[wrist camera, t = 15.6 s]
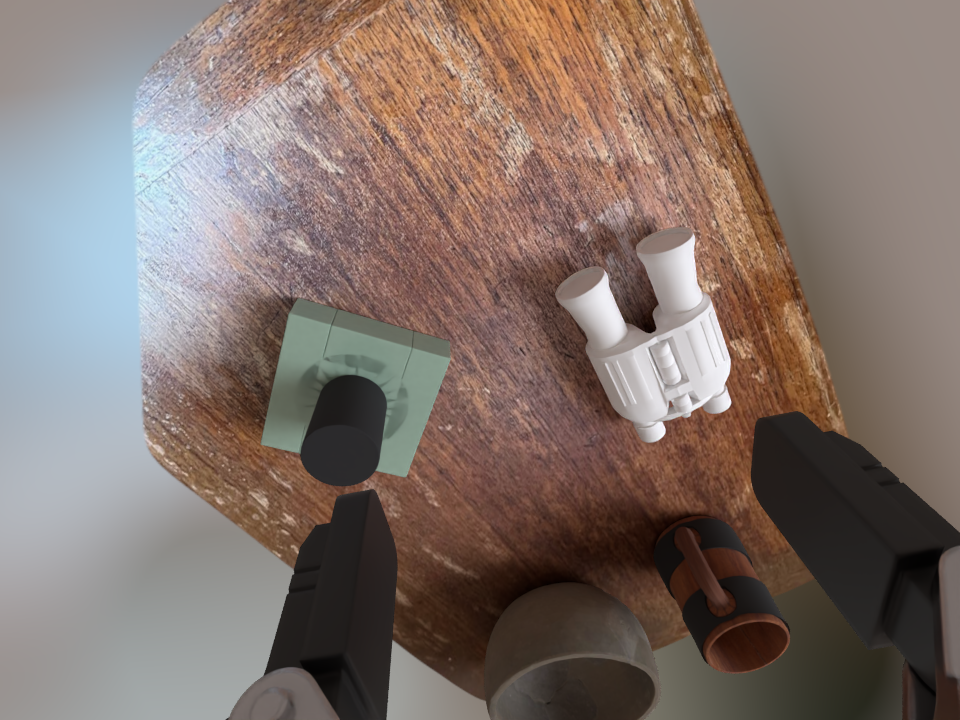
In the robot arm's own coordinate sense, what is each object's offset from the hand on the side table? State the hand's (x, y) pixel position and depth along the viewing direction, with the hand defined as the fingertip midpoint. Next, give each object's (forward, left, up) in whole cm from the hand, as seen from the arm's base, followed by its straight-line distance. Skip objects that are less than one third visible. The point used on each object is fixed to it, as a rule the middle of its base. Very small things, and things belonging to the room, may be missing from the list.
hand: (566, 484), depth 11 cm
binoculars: (+17, -6, -30) cm, 35 cm away
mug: (+32, -25, -30) cm, 51 cm away
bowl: (+24, -40, -30) cm, 56 cm away
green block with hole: (-4, -18, -30) cm, 35 cm away
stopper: (-4, -18, -30) cm, 35 cm away
